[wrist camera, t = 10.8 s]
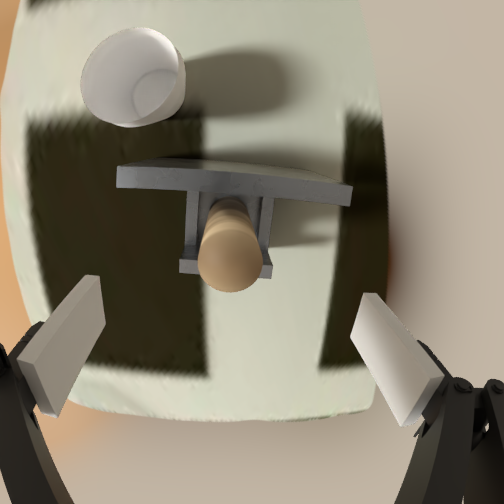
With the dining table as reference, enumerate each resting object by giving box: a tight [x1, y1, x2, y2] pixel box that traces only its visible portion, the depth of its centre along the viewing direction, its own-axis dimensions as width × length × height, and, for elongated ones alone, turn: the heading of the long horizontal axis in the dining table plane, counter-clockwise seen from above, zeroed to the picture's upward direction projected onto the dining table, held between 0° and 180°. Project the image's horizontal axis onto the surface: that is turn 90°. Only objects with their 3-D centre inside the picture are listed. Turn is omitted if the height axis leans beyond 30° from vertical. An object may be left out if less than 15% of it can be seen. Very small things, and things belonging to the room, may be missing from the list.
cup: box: [81, 28, 186, 127], centre depth 25 cm, size 9×9×12 cm
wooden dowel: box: [198, 196, 263, 292], centre depth 27 cm, size 4×4×14 cm
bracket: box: [117, 157, 353, 279], centre depth 30 cm, size 10×18×14 cm, turn 84°
